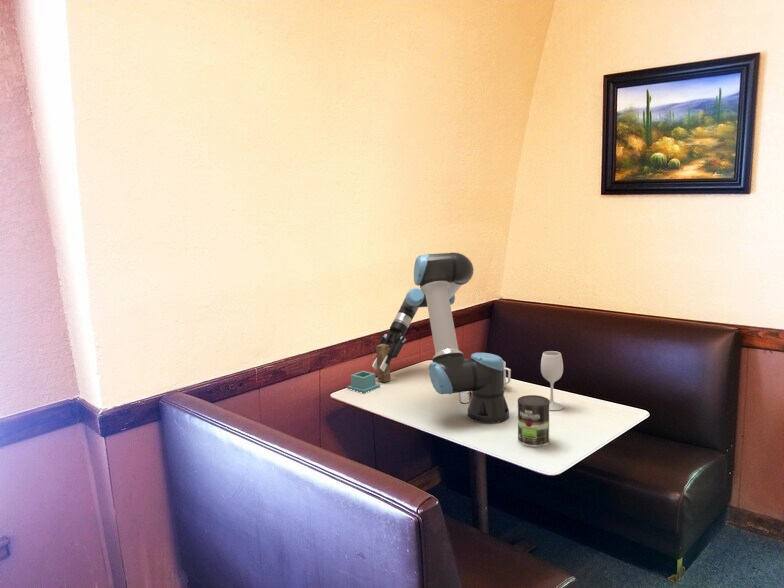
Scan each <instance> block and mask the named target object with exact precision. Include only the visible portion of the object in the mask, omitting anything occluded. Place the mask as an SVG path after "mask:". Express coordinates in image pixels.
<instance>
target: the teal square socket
mask: <svg viewBox="0 0 784 588" xmlns="http://www.w3.org/2000/svg"><path fill="white" fill-rule="evenodd" d="M350 380H351V381H350V383H351V385H347V386H346V387H347V390H348V389H352V390H355V391H354V392H356V391H358V392H357V393H360V392H362V393H361V394H367V393H369V392H372V391H374V390H377V389H379V388H381V384H379V383H377V382H376V373H375V372H370V371H365V370H360V371H359V372H355V373H353V374H351V375H350ZM376 388H377V389H376ZM373 389H374V390H373ZM352 390H351V391H352ZM371 390H372V391H371ZM368 391H369V392H368ZM366 392H367V393H366Z"/></svg>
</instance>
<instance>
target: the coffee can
mask: <svg viewBox="0 0 784 588" xmlns="http://www.w3.org/2000/svg"><path fill="white" fill-rule="evenodd" d="M549 404H550V398H547V397H545V396H541V395H536V394H535V395H534V394H528V395H522V396H520V397H518V398H517V442H518V443H520V444H521V445H522V446H526V447H531V448H541V447H546V446H548V445H549V444H550V410H549Z"/></svg>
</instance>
